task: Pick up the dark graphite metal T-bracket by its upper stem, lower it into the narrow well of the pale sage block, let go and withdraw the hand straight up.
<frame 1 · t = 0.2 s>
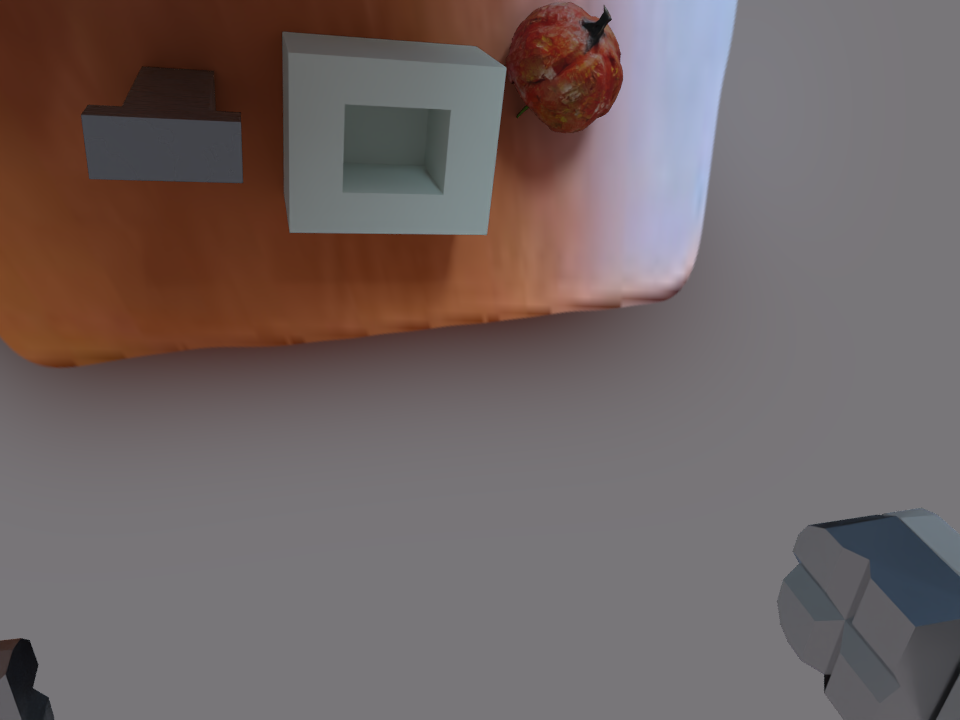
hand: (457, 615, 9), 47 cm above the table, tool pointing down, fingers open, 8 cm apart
well block: (378, 121, 52), on the table
pomegranate: (544, 61, 53), on the table
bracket: (180, 94, 49), on the table
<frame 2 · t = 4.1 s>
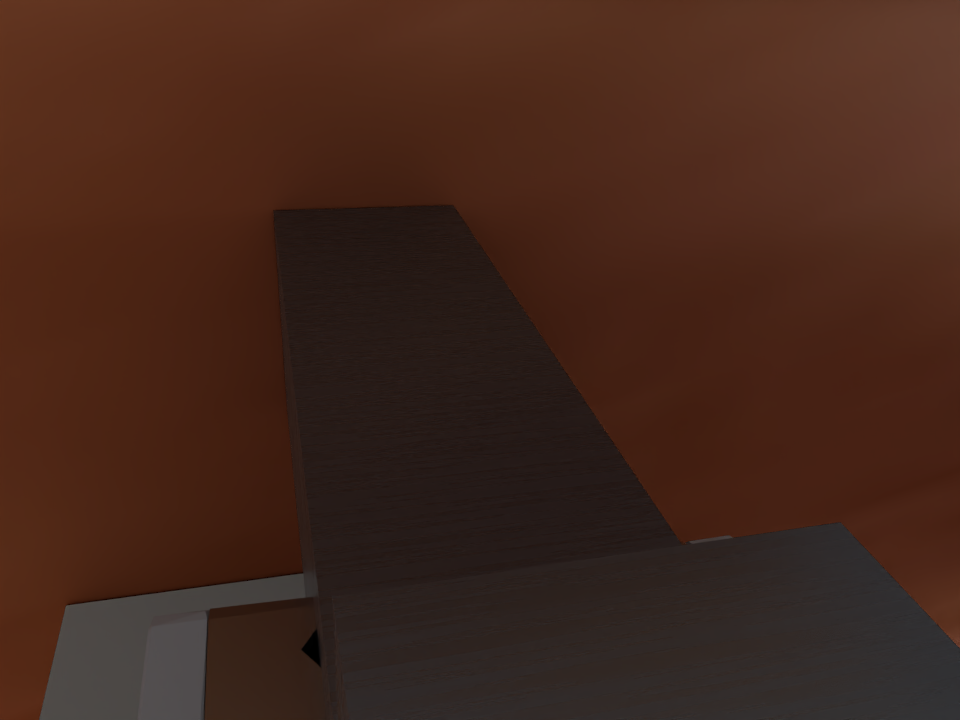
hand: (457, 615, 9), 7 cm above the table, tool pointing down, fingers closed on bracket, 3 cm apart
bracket: (366, 315, 15), on the table, touching gripper
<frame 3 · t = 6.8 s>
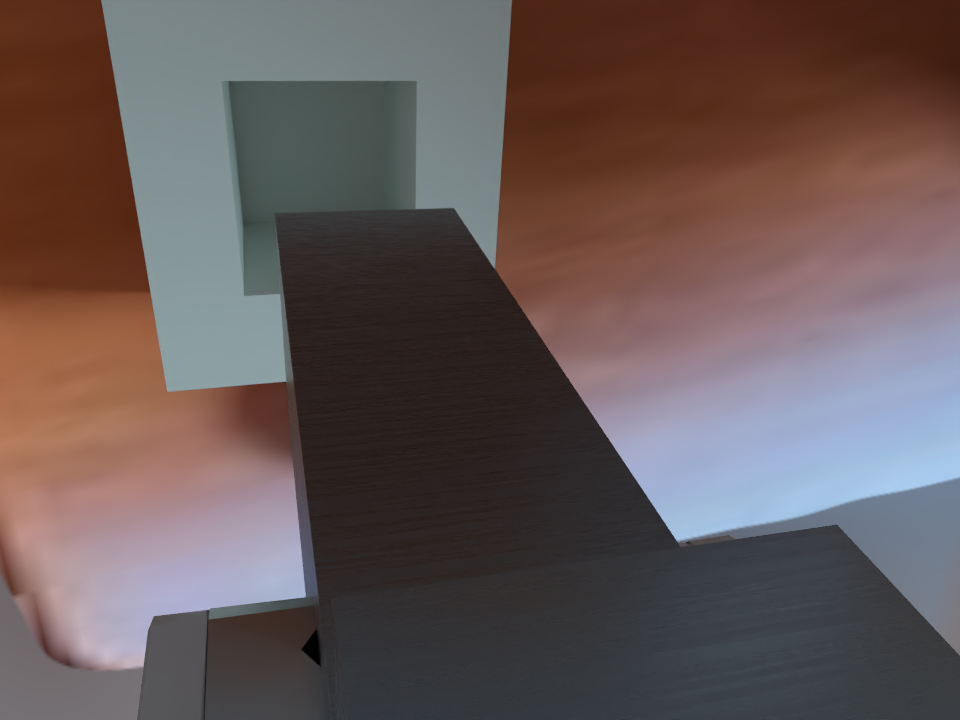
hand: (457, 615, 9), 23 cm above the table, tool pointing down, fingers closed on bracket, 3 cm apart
well block: (309, 128, 28), on the table
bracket: (367, 317, 15), point 16 cm above the table, touching gripper
when the fingers open (10 cm above the table, at t = 9.6 s): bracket drops 1 cm, resting on well block.
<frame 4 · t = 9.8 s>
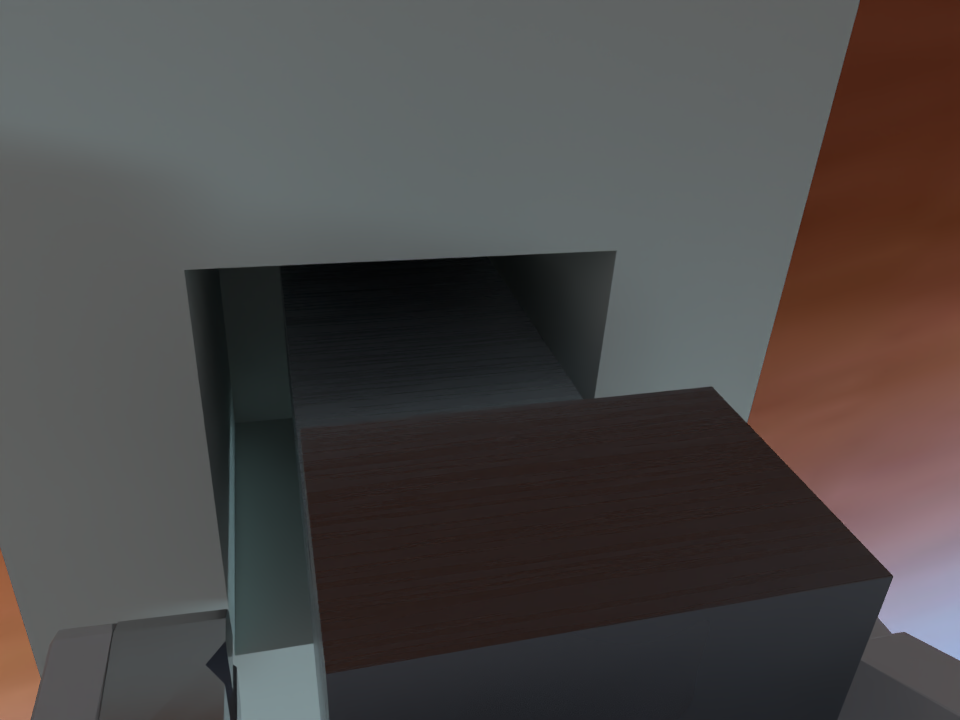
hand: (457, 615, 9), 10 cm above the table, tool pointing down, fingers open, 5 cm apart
well block: (349, 262, 17), on the table
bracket: (360, 286, 16), point 1 cm above the table, touching well block
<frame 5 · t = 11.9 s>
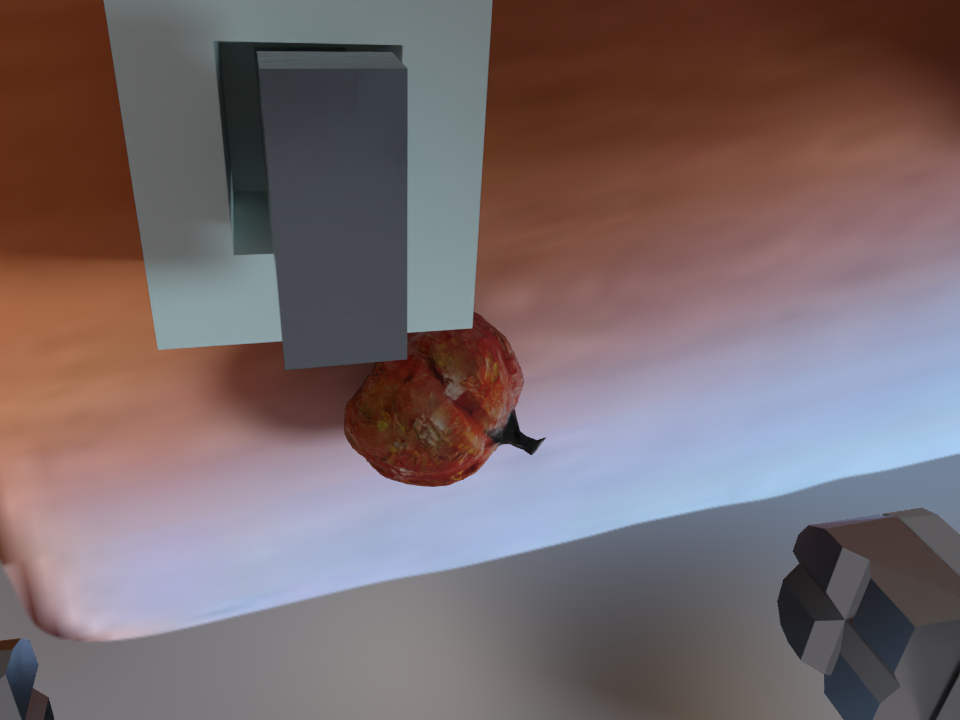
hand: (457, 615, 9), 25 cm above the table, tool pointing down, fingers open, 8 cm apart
well block: (298, 99, 29), on the table
pomegranate: (411, 351, 36), on the table
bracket: (303, 107, 28), point 1 cm above the table, touching well block
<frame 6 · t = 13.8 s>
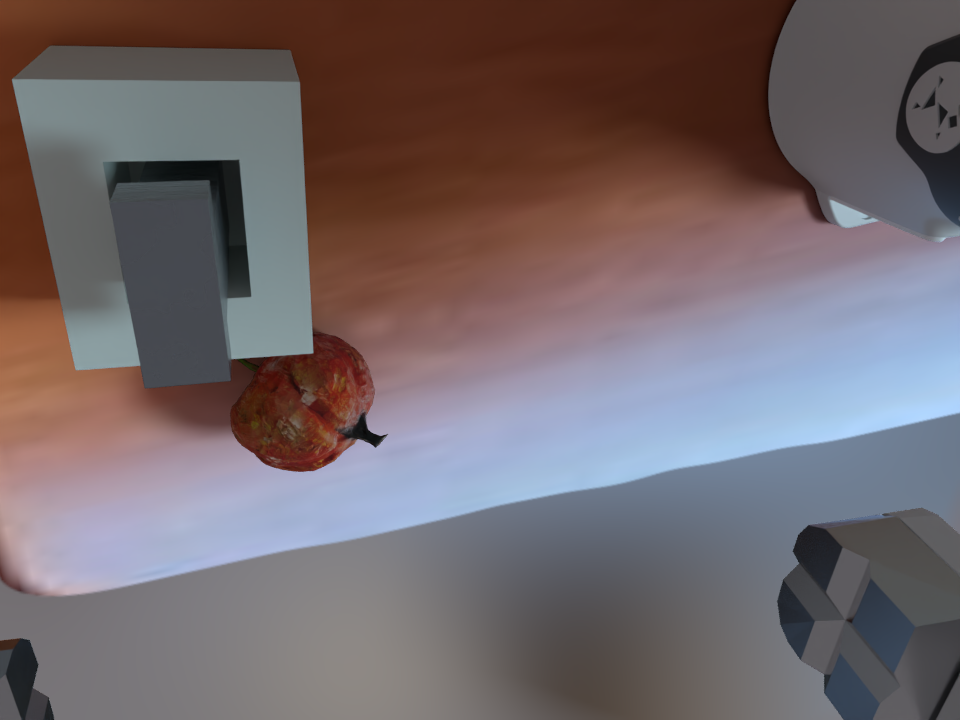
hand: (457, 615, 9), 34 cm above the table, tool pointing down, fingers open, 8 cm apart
well block: (190, 180, 39), on the table
pomegranate: (295, 366, 45), on the table
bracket: (191, 188, 38), point 1 cm above the table, touching well block
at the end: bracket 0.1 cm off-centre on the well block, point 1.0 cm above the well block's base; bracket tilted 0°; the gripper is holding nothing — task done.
